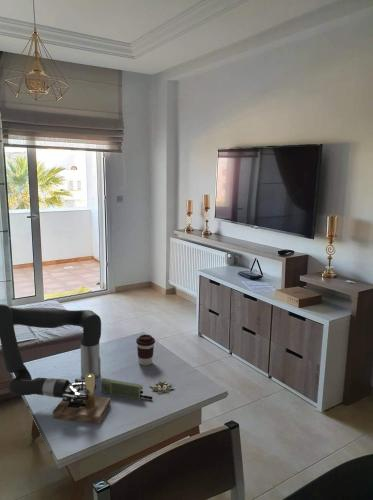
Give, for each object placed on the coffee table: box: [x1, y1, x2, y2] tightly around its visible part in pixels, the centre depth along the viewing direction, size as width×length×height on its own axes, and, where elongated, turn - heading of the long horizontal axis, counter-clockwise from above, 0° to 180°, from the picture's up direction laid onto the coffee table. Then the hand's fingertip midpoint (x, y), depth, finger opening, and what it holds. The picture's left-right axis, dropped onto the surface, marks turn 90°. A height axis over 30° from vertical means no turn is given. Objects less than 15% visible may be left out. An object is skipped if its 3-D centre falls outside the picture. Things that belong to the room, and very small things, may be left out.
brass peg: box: [84, 374, 96, 408], centre depth 170 cm, size 4×4×17 cm
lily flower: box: [152, 379, 172, 396], centre depth 193 cm, size 12×12×5 cm
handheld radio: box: [100, 377, 153, 401], centre depth 185 cm, size 7×3×25 cm
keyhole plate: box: [52, 395, 111, 425], centre depth 172 cm, size 20×14×3 cm
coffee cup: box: [135, 334, 156, 366], centre depth 217 cm, size 10×10×15 cm
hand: (92, 391), depth 170 cm, fingers open, 8 cm apart
